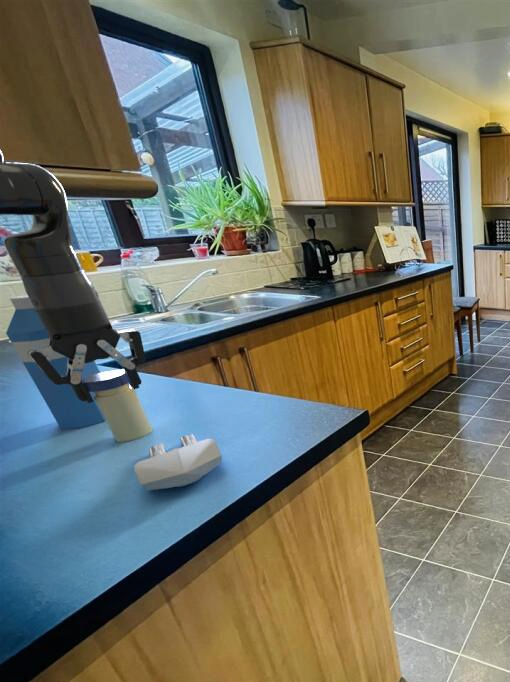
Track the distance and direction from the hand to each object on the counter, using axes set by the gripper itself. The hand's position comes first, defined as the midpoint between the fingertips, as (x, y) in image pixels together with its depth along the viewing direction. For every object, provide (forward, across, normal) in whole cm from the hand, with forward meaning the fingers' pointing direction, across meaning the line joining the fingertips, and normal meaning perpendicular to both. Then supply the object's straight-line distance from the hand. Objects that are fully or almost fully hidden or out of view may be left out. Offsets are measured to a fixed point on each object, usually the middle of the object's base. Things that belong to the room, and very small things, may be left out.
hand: (112, 394), depth 72 cm
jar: (+8, 0, 0) cm, 8 cm away
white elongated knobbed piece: (+9, 0, +21) cm, 23 cm away
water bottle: (+9, +2, -17) cm, 19 cm away
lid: (-3, 0, 0) cm, 3 cm away
